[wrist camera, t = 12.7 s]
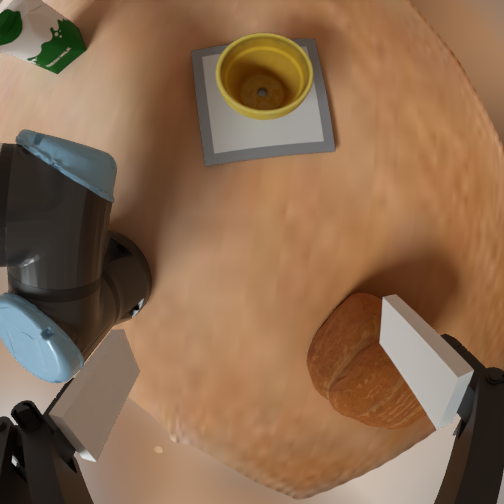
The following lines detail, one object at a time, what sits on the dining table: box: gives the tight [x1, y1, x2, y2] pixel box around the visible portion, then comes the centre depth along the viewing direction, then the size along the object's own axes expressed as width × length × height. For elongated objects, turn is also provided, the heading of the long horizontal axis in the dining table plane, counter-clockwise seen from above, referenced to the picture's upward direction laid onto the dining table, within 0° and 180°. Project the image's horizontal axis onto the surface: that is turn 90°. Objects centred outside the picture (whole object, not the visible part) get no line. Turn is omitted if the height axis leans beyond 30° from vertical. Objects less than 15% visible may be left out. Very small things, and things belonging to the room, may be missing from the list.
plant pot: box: [216, 33, 314, 120], centre depth 30 cm, size 10×10×10 cm
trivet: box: [191, 39, 335, 166], centre depth 35 cm, size 18×18×2 cm
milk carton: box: [0, 0, 86, 74], centre depth 22 cm, size 9×9×20 cm
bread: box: [307, 293, 427, 429], centre depth 38 cm, size 18×21×17 cm
